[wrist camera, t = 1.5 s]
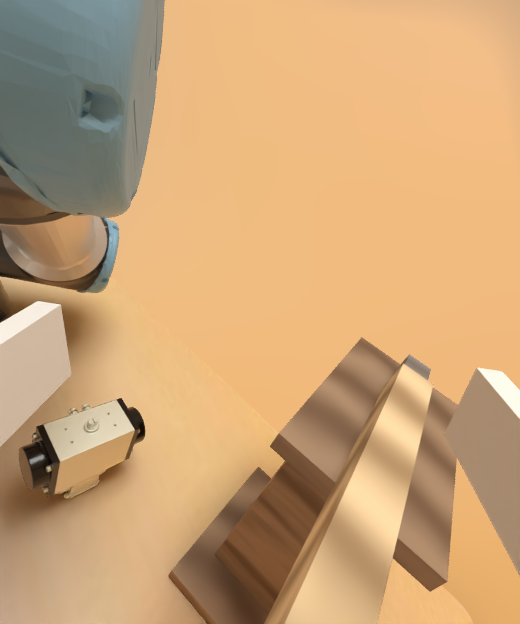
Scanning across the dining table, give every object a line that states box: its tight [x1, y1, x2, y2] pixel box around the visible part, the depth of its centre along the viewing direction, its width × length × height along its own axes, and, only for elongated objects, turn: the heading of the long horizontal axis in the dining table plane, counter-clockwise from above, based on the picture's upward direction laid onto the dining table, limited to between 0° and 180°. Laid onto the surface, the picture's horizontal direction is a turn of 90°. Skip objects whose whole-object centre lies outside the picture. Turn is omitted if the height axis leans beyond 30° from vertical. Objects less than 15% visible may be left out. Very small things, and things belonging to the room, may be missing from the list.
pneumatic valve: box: [19, 398, 145, 499], centre depth 39 cm, size 6×12×12 cm, turn 134°
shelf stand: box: [169, 338, 458, 624], centre depth 36 cm, size 20×14×28 cm
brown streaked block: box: [264, 355, 433, 624], centre depth 22 cm, size 30×3×3 cm, turn 145°
